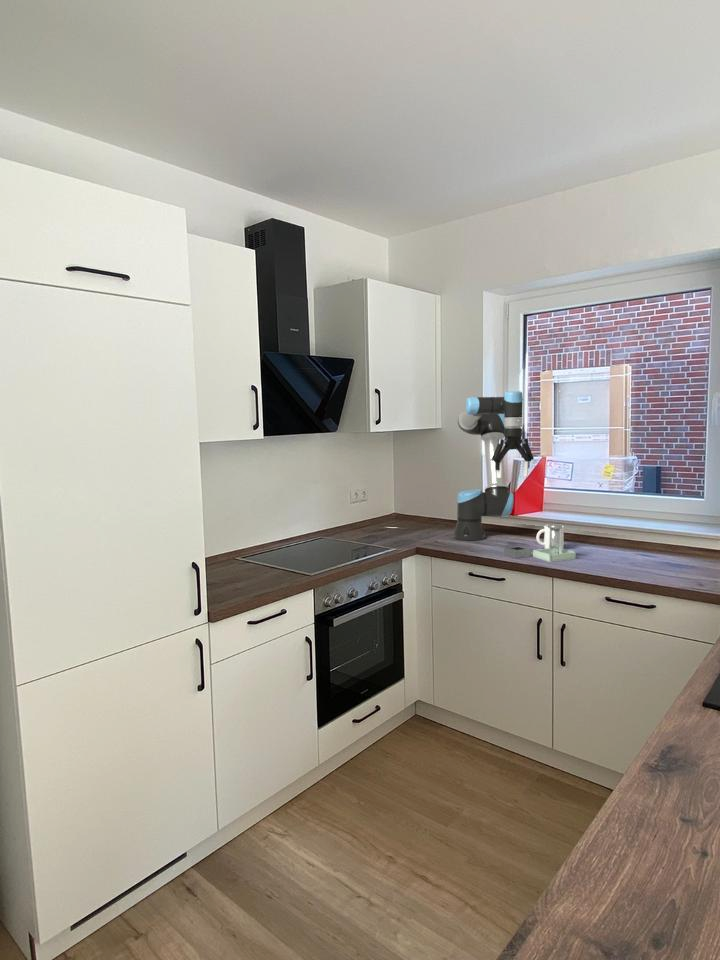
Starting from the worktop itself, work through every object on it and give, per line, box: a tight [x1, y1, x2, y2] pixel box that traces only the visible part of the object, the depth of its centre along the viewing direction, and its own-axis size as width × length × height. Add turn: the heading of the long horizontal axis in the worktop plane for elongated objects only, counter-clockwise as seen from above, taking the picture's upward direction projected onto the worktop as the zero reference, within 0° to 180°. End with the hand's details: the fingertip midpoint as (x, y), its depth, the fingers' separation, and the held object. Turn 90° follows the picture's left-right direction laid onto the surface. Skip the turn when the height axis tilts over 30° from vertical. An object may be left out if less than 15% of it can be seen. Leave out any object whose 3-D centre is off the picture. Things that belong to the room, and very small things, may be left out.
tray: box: [532, 547, 577, 563], centre depth 257 cm, size 11×13×3 cm
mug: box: [535, 524, 565, 549], centre depth 274 cm, size 12×8×10 cm
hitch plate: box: [503, 545, 532, 559], centre depth 262 cm, size 8×8×3 cm
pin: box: [547, 523, 563, 555], centre depth 257 cm, size 6×6×13 cm
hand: (512, 477), depth 267 cm, fingers open, 13 cm apart
